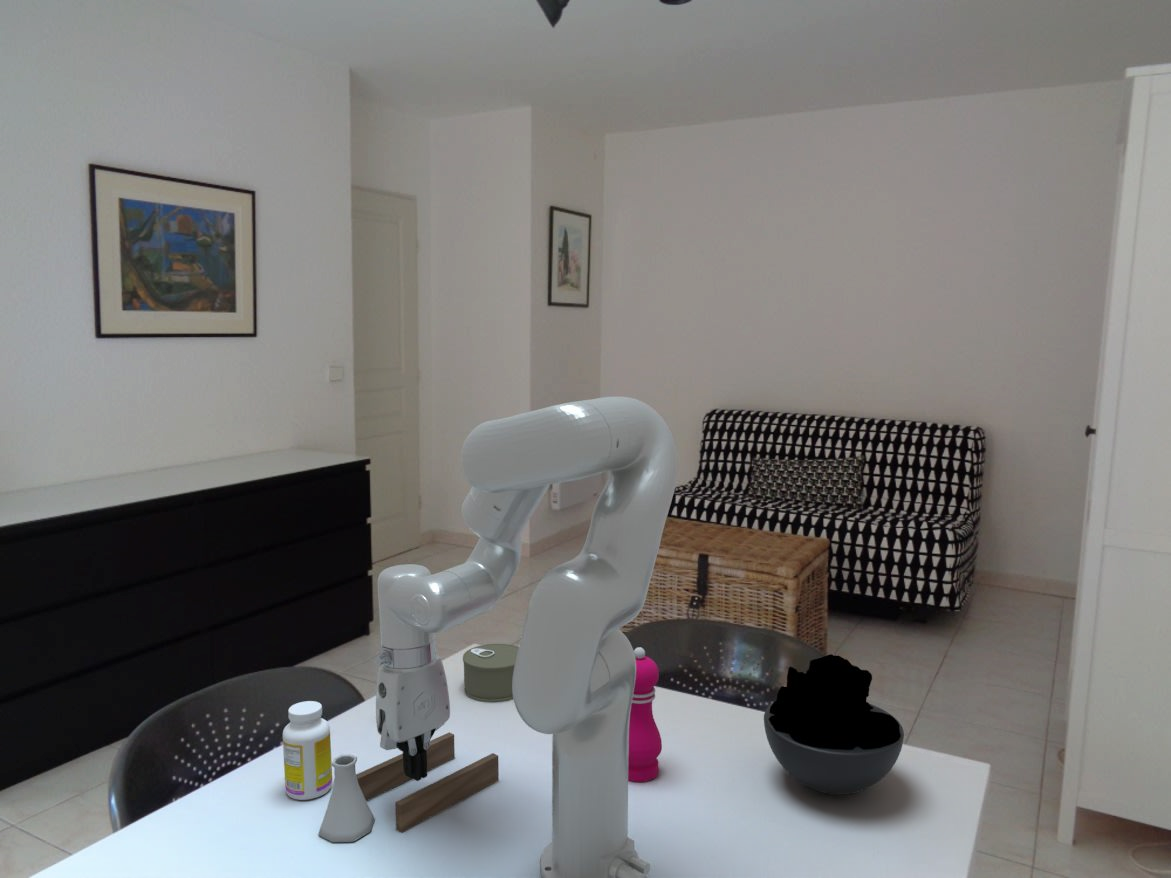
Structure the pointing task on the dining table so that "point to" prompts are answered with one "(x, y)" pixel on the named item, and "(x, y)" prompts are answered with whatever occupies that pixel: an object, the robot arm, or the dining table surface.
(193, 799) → the dining table surface
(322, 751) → the supplement bottle
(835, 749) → the bowl of black rocks
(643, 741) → the pepper mill
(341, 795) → the flask
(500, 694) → the can
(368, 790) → the chute
